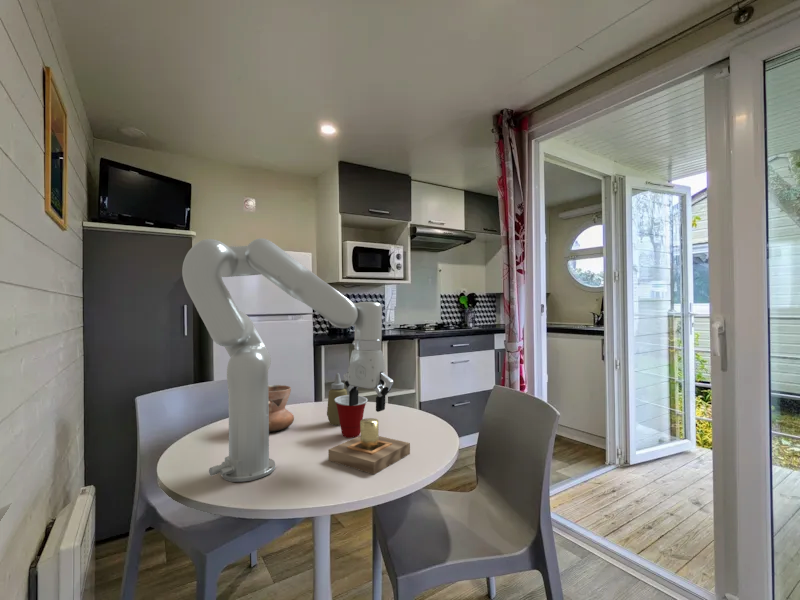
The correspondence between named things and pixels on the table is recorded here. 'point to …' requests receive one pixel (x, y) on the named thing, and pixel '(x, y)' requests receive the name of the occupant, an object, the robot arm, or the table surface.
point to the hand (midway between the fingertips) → (366, 407)
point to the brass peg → (369, 434)
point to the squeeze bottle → (334, 393)
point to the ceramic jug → (279, 407)
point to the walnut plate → (369, 454)
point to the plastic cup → (350, 415)
